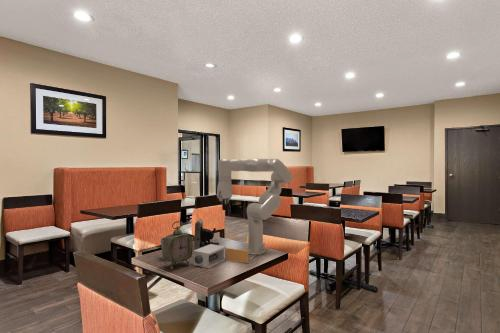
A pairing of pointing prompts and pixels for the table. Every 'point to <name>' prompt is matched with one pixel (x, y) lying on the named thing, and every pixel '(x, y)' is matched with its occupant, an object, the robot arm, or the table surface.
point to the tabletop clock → (177, 246)
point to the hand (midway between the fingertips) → (225, 209)
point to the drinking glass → (162, 248)
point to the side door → (237, 255)
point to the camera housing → (208, 256)
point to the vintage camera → (202, 235)
